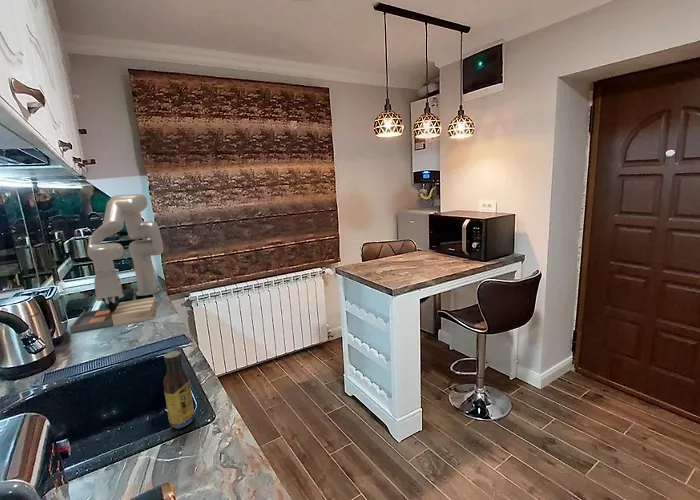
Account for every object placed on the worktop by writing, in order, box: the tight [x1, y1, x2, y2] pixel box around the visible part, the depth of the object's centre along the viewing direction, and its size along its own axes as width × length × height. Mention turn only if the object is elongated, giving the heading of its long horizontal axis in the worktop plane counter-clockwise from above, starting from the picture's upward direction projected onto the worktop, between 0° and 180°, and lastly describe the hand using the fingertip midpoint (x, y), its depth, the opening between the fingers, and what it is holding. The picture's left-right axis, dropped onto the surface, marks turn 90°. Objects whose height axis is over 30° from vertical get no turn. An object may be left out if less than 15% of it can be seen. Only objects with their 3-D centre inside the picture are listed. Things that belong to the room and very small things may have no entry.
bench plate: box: [112, 296, 157, 327], centre depth 179 cm, size 20×16×5 cm
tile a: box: [94, 310, 112, 319], centre depth 177 cm, size 6×6×2 cm
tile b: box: [88, 316, 107, 324], centre depth 168 cm, size 6×6×2 cm
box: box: [69, 306, 117, 334], centre depth 173 cm, size 20×16×3 cm
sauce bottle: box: [163, 350, 195, 429], centre depth 95 cm, size 7×6×20 cm
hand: (112, 310), depth 170 cm, fingers closed
